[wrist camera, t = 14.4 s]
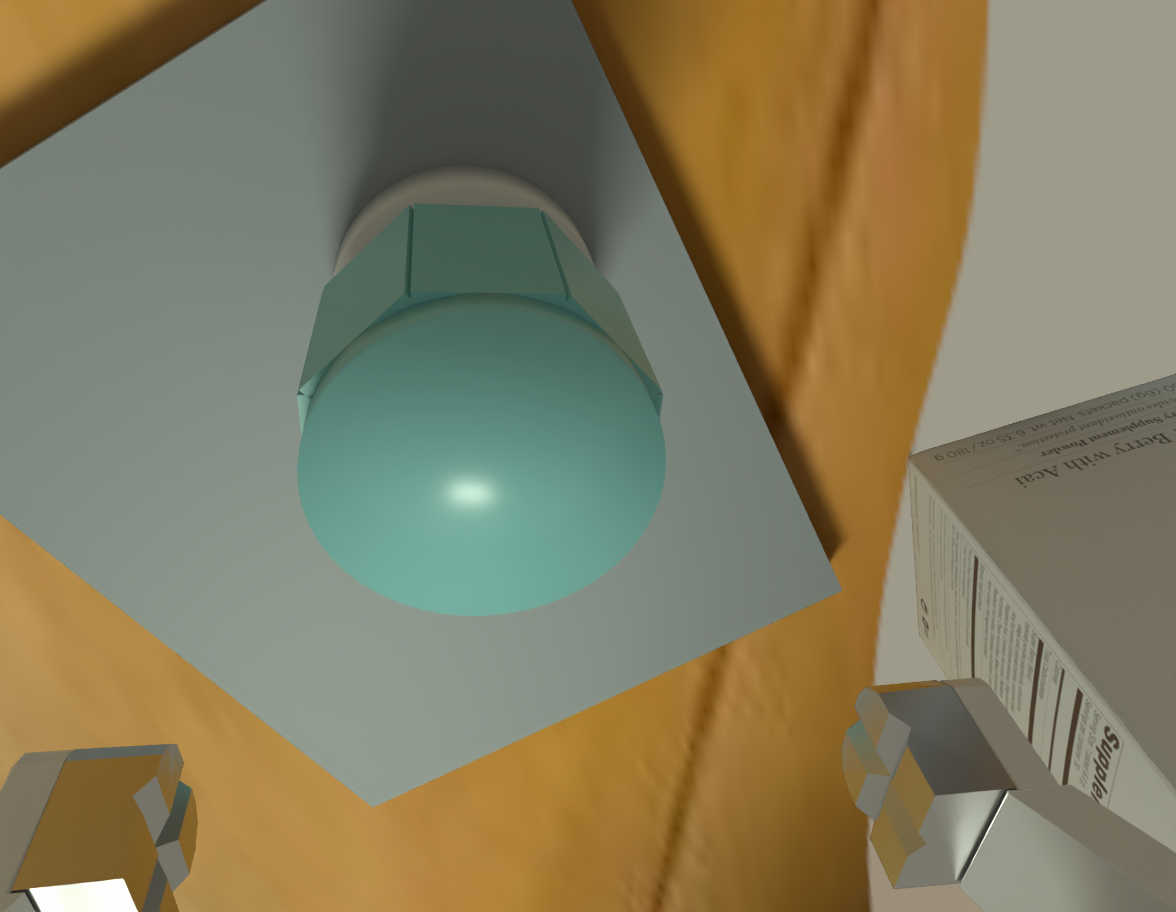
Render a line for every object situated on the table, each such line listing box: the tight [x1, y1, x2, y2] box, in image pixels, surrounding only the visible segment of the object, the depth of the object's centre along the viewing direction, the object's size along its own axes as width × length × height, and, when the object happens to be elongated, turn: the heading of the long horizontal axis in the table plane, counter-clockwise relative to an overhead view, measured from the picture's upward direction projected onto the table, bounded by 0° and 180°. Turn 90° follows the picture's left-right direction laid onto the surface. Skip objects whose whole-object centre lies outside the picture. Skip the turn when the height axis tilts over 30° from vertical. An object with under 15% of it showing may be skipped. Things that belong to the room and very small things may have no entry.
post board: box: [0, 0, 842, 807], centre depth 21 cm, size 22×18×8 cm
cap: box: [297, 203, 666, 616], centre depth 16 cm, size 6×6×5 cm
